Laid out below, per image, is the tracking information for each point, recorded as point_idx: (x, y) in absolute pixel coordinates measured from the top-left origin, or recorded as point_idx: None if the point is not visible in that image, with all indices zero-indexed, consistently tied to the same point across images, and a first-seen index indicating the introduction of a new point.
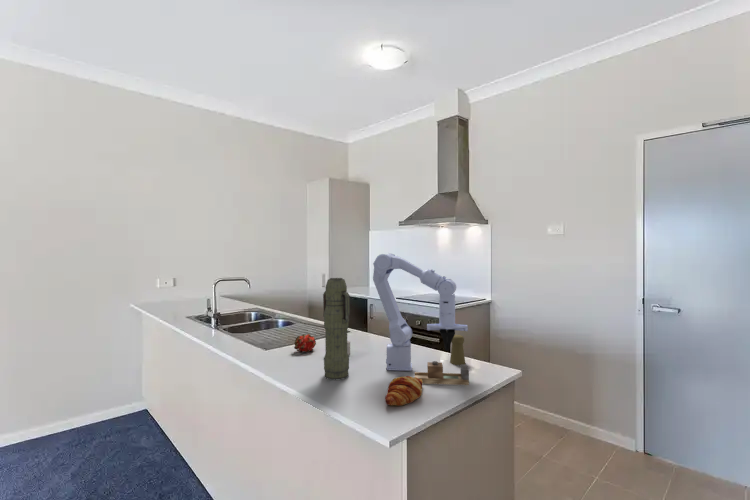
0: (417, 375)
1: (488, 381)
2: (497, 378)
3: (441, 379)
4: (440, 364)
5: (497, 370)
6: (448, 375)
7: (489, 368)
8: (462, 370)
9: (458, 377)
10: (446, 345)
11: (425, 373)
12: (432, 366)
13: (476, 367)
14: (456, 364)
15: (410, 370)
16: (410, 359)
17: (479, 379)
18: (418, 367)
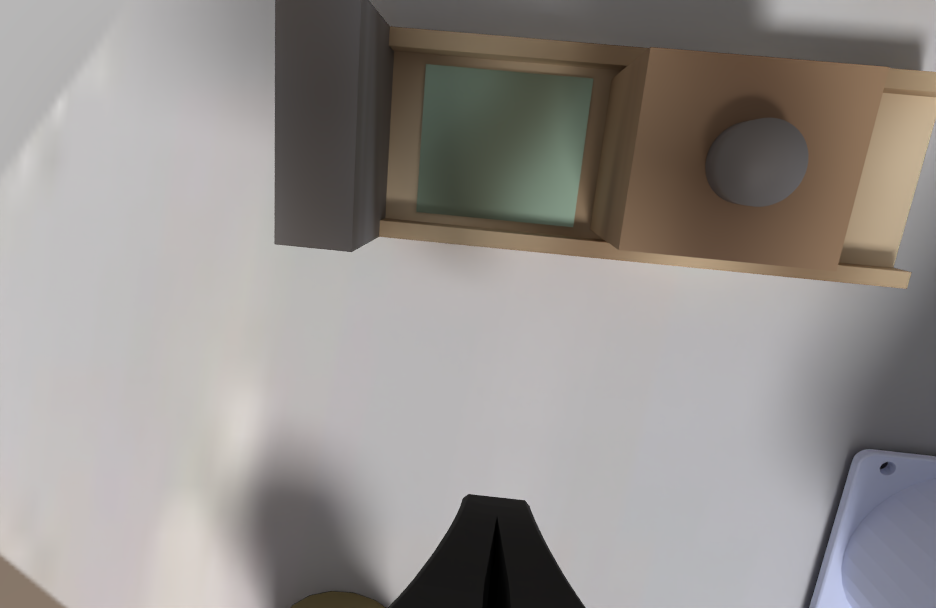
0: (866, 244)
1: (128, 153)
2: (34, 237)
3: (637, 47)
4: (662, 156)
5: (11, 448)
6: (515, 231)
7: (76, 500)
8: (364, 31)
9: (416, 180)
10: (517, 544)
11: None
12: (813, 61)
13: (189, 529)
14: (362, 601)
15: (872, 450)
16: (912, 590)
17: (207, 209)
18: (751, 550)
